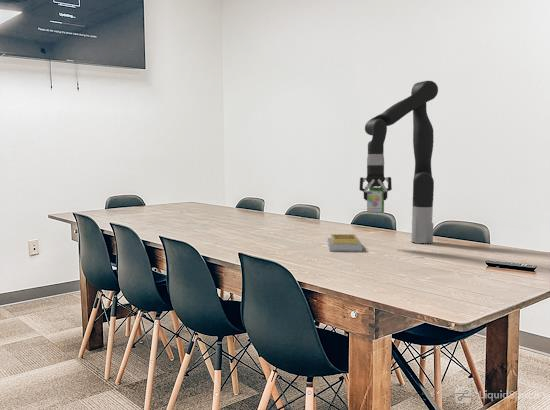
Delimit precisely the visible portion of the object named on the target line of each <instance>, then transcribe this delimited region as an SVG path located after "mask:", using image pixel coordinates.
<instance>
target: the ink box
mask: <svg viewBox="0 0 550 410" xmlns="http://www.w3.org/2000/svg"><path fill="white" fill-rule="evenodd" d="M383 184H384V185H385V182H383ZM366 212H367V213H368V214H369V213H371V214H372V213H374V214H383V213H384V212H385V200H384V189H383V188H382V187H381V186H379V187H376V186H375V187H372V186H370V188H369V189H368V190H367V200H366Z"/></svg>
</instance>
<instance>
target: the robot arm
mask: <svg viewBox="0 0 550 410" xmlns="http://www.w3.org/2000/svg"><path fill="white" fill-rule="evenodd" d="M438 93H439V87H438V84H437V83H436V82H435V81H433V80H424V81H423V80H422V81H419V82H416V83H414V84H413V86H412V88H411V93H410V95H409V96H408V97H406V98H404V99H402V100H400V101H398V102H396V103H394V104H392V105H391V106H390V107H388V108H387V109H386V110H384V111H383V112H382V113H380V114H377V115H376V116H374V117H372V118H371V119H369V120H368V121H367V122H366V123H365V125H364V131H365V133H366V135H369V136H371V137H372V138H371V140H370V141H368V143H367V157H366V177H360V178H359V188H358V189H359V191H361V192H362V193H363V199H364V201H367V191H369V188H370V186H372V187H382V188H383V189H384V201H387V199H388V192H390V191H392V187H393V185H392V177H390V176H387V177H385V156H384V152H385V151H384V145H385V144H384V143H385V140H386V136H387V132H388V127H389V126H393V125H395V123H397V122H398V121H400V120H402V118H403V117H405V116H406V115H408V114H409V113H411V112H412V123H413V124H412V126H413V128H412V129H413V130H412V131H413V132H412V145H413V146H412V147H413V155H414V173H413V182H412V210H411V211H412V212H411V213H412V214H411V218H412V219H411V243H413V242H415V243H414V244H419V243H424V244H425V243H426V244H427V243H429V244H433V242H434V222H433V208H434V207H433V206H434V192H435V191H434V190H435V189H434V187H435V186H434V185H435V180H434V178H433V173H432V156H433V150H434V127H433V125H432V122H431V119H430V118H429V115H428V113H427V103H428V102H430V101H432V100H433V99H435V98H436V97H437V95H438ZM385 181H386V182H387V187H386V186H385ZM365 182H367V184H366V186H365V187H364V183H365ZM383 183H384V184H383ZM424 244H423V245H424Z"/></svg>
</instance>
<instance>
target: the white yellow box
mask: <svg viewBox="0 0 550 410" xmlns="http://www.w3.org/2000/svg"><path fill="white" fill-rule="evenodd" d="M327 247H328V250H330V251H329V252H363V244H362V243H361V240H360V239H359V238H358V236H357V235H356V234H355V233H354V234H351V233H350V234H339V233H337V234H336V233H333V234H331V233H330V237H327Z"/></svg>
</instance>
